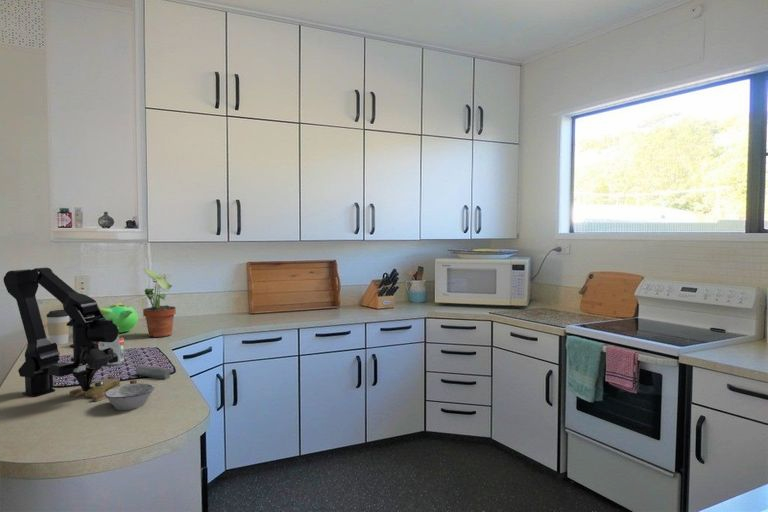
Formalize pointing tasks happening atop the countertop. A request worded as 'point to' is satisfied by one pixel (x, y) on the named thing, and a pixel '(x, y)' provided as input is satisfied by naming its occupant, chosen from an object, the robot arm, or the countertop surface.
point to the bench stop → (153, 371)
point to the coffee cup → (58, 326)
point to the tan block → (102, 386)
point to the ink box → (115, 349)
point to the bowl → (129, 395)
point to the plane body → (98, 396)
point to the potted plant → (158, 309)
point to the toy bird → (121, 316)
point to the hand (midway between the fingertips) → (85, 391)
